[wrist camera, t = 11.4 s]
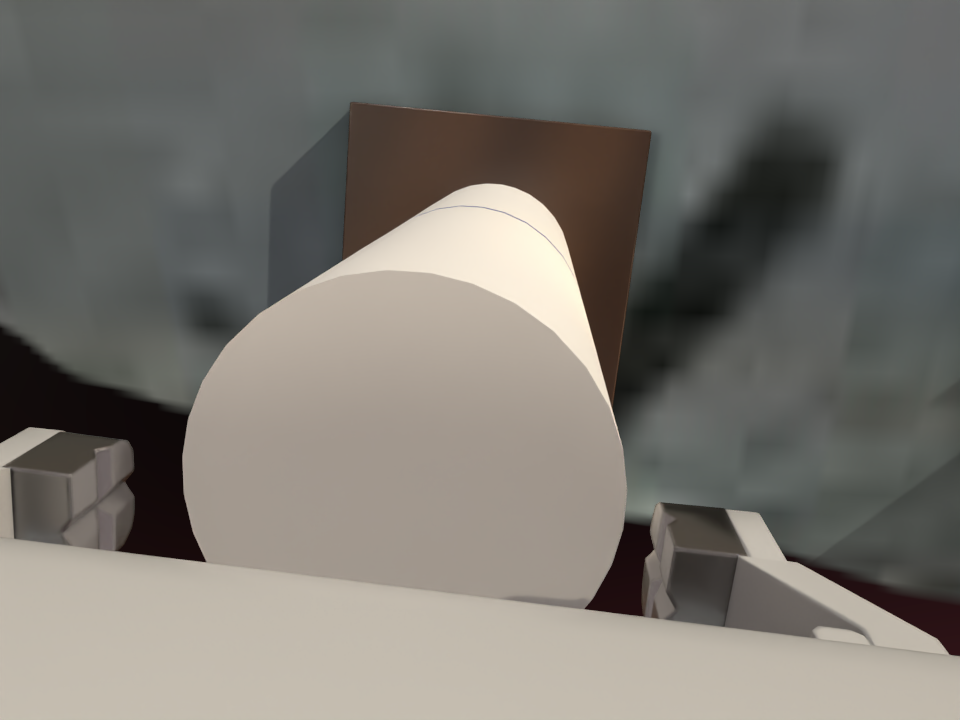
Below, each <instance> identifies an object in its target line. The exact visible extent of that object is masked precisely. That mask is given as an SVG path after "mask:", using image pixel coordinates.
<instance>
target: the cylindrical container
mask: <svg viewBox="0 0 960 720" xmlns="http://www.w3.org/2000/svg"><path fill="white" fill-rule="evenodd" d="M183 484H184V496H185V501H186V504H187V509H188V513H189V517H190V521H191V526H192V530H193V533H194V536H195V538H196V540H197V542H198V544H199V546H200V549H201V551H202V553H203V555H204V557H205V560H206V562H207V563H213V564H221V565H229V566H237V567H245V568H253V569H261V570H270V571H278V572H286V573H294V574H302V575H310V576H318V577H326V578H334V579H342V580H350V581H358V582H366V583H375V584H383V585H391V586H399V587H407V588H415V589H423V590H431V591H439V592H447V593H455V594H463V595H471V596H479V597H488V598H496V599H504V600H512V601H520V602H528V603H536V604H544V605H552V606H560V607H568V608H576V609H584V608H585V607H586V606H587V605H588V604H589V602H590V601H591V600H592V599H593V597H594V595H595V594H596V592H597V590H598V588H599V586H600V585H601V583H602V581H603V579H604V578H605V576H606V574H607V572H608V570H609V568H610V567H611V565H612V562H613V559H614V556H615V553H616V549H617V546H618V543H619V540H620V537H621V534H622V530H623V525H624V515H625V506H626V497H627V484H626V474H625V464H624V454H623V447H622V444H621V440H620V436H619V433H618V429H617V425H616V422H615V418H614V414H613V411H612V407H611V403H610V400H609V396H608V392H607V389H606V385H605V381H604V378H603V374H602V371H601V367H600V363H599V360H598V356H597V352H596V349H595V345H594V341H593V338H592V334H591V330H590V327H589V323H588V319H587V316H586V312H585V309H584V305H583V301H582V298H581V294H580V290H579V287H578V283H577V279H576V276H575V272H574V268H573V265H572V261H571V257H570V254H569V250H568V247H567V244H566V240H565V237H564V234H563V231H562V230H561V228H560V226H559V224H558V223H557V221H556V219H555V217H554V216H553V215H552V214H551V213H550V212H549V210H548V209H547V208H546V207H545V206H544V205H543V204H542V203H541V202H539V201H538V200H537V199H535V198H534V197H532V196H531V195H530V194H527V193H525V192H523V191H521V190H519V189H517V188H514V187H510V186H506V185H502V184H479V185H471V186H468V187H465V188H462V189H460V190H457V191H454V192H453V193H451V194H449V195H448V196H446V197H444V198H443V199H441V200H439V201H438V202H436V203H434V204H433V205H431V206H429V207H428V208H426V209H425V210H423V211H422V212H420V213H419V214H417V215H415V216H414V217H412V218H411V219H409V220H408V221H406V222H404V223H403V224H401V225H400V226H398V227H397V228H395V229H394V230H392V231H390V232H389V233H387V234H385V235H384V236H382V237H380V238H379V239H377V240H375V241H374V242H372V243H370V244H369V245H367V246H365V247H364V248H362V249H361V250H359V251H357V252H356V253H354V254H353V255H351V256H350V257H348V258H346V259H345V260H343V261H342V262H340V263H339V264H337V265H335V266H334V267H332V268H331V269H329V270H327V271H326V272H324V273H323V274H321V275H320V276H318V277H316V278H315V279H313V280H312V281H310V282H309V283H307V284H305V285H304V286H302V287H301V288H299V289H298V290H296V291H294V292H293V293H291V294H290V295H288V296H286V297H285V298H283V299H282V300H280V301H279V302H277V303H275V304H274V305H272V306H271V307H269V308H268V309H266V310H264V311H263V312H261V313H260V314H258V315H257V316H256V317H255V318H254V319H253V320H252V321H251V322H250V323H249V324H248V325H247V326H246V327H245V328H244V329H243V330H242V331H240V332H239V333H238V334H237V335H236V336H235V337H234V338H233V339H232V340H231V341H230V342H229V343H228V344H227V345H226V346H225V348H224V349H223V351H222V352H221V354H220V355H219V357H218V358H217V360H216V361H215V363H214V365H213V366H212V368H211V369H210V371H209V372H208V374H207V375H206V377H205V378H204V380H203V381H202V384H201V387H200V389H199V392H198V395H197V397H196V400H195V403H194V405H193V408H192V411H191V413H190V416H189V418H188V424H187V430H186V437H185V443H184V450H183Z"/></svg>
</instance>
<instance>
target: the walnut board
mask: <svg viewBox="0 0 960 720" xmlns="http://www.w3.org/2000/svg"><path fill="white" fill-rule="evenodd" d="M650 139H651V131H648V130H638V129H627V128H617V127H607V126H596V125H586V124H576V123H565V122H555V121H545V120H534V119H524V118H513V117H503V116H493V115H482V114H472V113H462V112H451V111H441V110H431V109H420V108H410V107H400V106H389V105H379V104H368V103H358V102H351V103H350V117H349V137H348V157H347V176H346V196H345V216H344V235H343V255H342V261H343V260H345V259H346V258H348V257H350V256H351V255H353V254H354V253H356V252H357V251H359V250H361V249H362V248H364V247H365V246H367V245H369V244H370V243H372V242H374V241H375V240H377V239H379V238H380V237H382V236H384V235H385V234H387V233H389V232H390V231H392V230H394V229H395V228H397V227H398V226H400V225H401V224H403V223H404V222H406V221H408V220H409V219H411V218H412V217H414V216H415V215H417V214H419V213H420V212H422V211H423V210H425V209H426V208H428V207H429V206H431V205H433V204H434V203H436V202H438V201H439V200H441V199H443V198H444V197H446V196H448V195H449V194H451V193H453V192H454V191H457V190H460V189H462V188H465V187H468V186H471V185H479V184H502V185H506V186H510V187H514V188H517V189H519V190H521V191H523V192H525V193H527V194H530V195H531V196H532V197H534V198H535V199H537V200H538V201H539V202H541V203H542V204H543V205H544V206H545V207H546V208H547V209H548V210H549V212H550V213H551V214H552V215H553V216H554V217H555V219H556V221H557V223H558V224H559V226H560V228H561V230H562V231H563V234H564V237H565V240H566V244H567V247H568V250H569V254H570V257H571V261H572V265H573V268H574V272H575V276H576V279H577V283H578V287H579V290H580V294H581V298H582V301H583V305H584V309H585V312H586V316H587V319H588V323H589V327H590V330H591V334H592V338H593V341H594V345H595V349H596V352H597V356H598V360H599V363H600V367H601V371H602V374H603V378H604V381H605V385H606V389H607V392H608V396H609V400H610V403H611V407H612V406H613V399H614V392H615V385H616V378H617V371H618V364H619V357H620V350H621V343H622V336H623V329H624V322H625V315H626V308H627V301H628V294H629V287H630V280H631V273H632V266H633V259H634V252H635V245H636V238H637V231H638V224H639V217H640V210H641V203H642V196H643V189H644V182H645V175H646V167H647V160H648V153H649V146H650Z"/></svg>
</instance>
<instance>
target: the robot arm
mask: <svg viewBox="0 0 960 720" xmlns="http://www.w3.org/2000/svg"><path fill="white" fill-rule="evenodd" d="M133 470H134V459H133V449H132V447H131V445H130V444H129V442H128V441H127V440H119V439H112V438H104V437H97V436H89V435H82V434H74V433H67V432H64V431H60V430H50V429H40V428H27V429H26V430H24V431H22V432H20V433H19V434H17V435H15V436H13V437H11V438H9V439H8V440H6V441H4V442H2V443H0V720H960V656H953V655H949V653H948V652H947V651H946V649H945V648H944V647H943V646H942V644H941V643H940V642H939V640H938V639H936V638H934V637H932V636H931V635H929V634H927V633H925V632H923V631H921V630H920V629H918V628H916V627H914V626H912V625H910V624H909V623H907V622H905V621H903V620H901V619H899V618H898V617H896V616H894V615H892V614H890V613H889V612H887V611H885V610H883V609H881V608H879V607H878V606H876V605H874V604H872V603H870V602H868V601H867V600H865V599H863V598H861V597H859V596H857V595H856V594H853V593H852V592H850V591H848V590H846V589H845V588H843V587H841V586H839V585H837V584H836V583H834V582H832V581H830V580H828V579H826V578H825V577H823V576H820V575H819V574H817V573H815V572H814V571H812V570H810V569H808V568H806V567H804V566H803V565H801V564H799V563H797V562H789V561H787V560H786V559H785V557H784V555H783V554H782V552H781V550H780V548H779V547H778V545H777V543H776V542H775V540H774V538H773V536H772V535H771V533H770V531H769V530H768V528H767V526H766V524H765V523H764V521H763V519H762V518H761V516H760V514H758V513H755V512H747V511H736V510H725V509H724V508H714V507H704V506H693V505H683V504H672V503H662V502H659V503H658V504H656V506H655V509H654V513H653V517H652V523H651V528H650V534H651V538H652V542H653V546H654V551H653V552H652V553H651V554H650V555H649V556H648V557H647V558H646V559H645V566H644V574H643V582H642V610H643V616H644V617H640V616H632V615H624V614H615V613H608V612H600V611H592V610H584V609H576V608H568V607H560V606H552V605H544V604H536V603H528V602H520V601H512V600H504V599H496V598H488V597H479V596H471V595H463V594H455V593H447V592H439V591H431V590H423V589H415V588H407V587H399V586H391V585H383V584H375V583H366V582H358V581H350V580H342V579H334V578H326V577H318V576H310V575H302V574H294V573H286V572H278V571H270V570H261V569H253V568H245V567H237V566H229V565H221V564H213V563H205V562H197V561H189V560H181V559H173V558H165V557H157V556H148V555H140V554H132V553H124V552H117V551H118V550H119V549H120V548H121V547H122V546H123V545H124V544H125V542H126V539H127V537H128V535H129V533H130V531H131V528H132V524H133V518H134V512H135V502H134V501H135V497H134V495H133V494H132V493H131V491H130V489H129V488H128V486H127V485H126V483H125V481H126V480H127V478H128V477H129V476H130V474H131V473H132V472H133Z"/></svg>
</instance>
